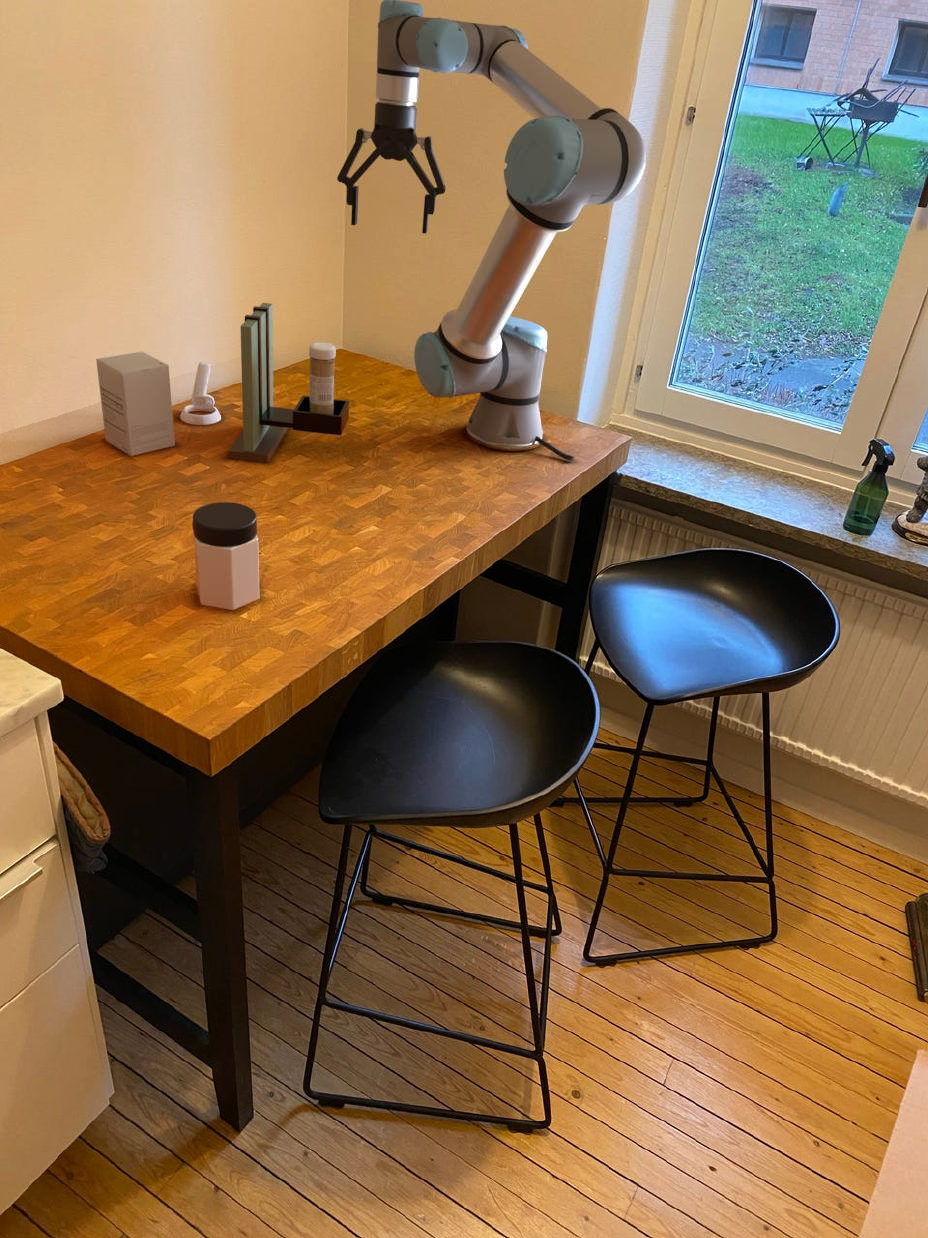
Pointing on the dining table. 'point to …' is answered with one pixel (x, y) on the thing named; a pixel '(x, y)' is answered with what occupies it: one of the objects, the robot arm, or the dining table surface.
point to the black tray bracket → (301, 414)
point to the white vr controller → (201, 400)
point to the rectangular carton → (136, 402)
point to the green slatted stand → (256, 394)
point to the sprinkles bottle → (322, 377)
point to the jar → (226, 555)
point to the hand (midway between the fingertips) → (389, 228)
